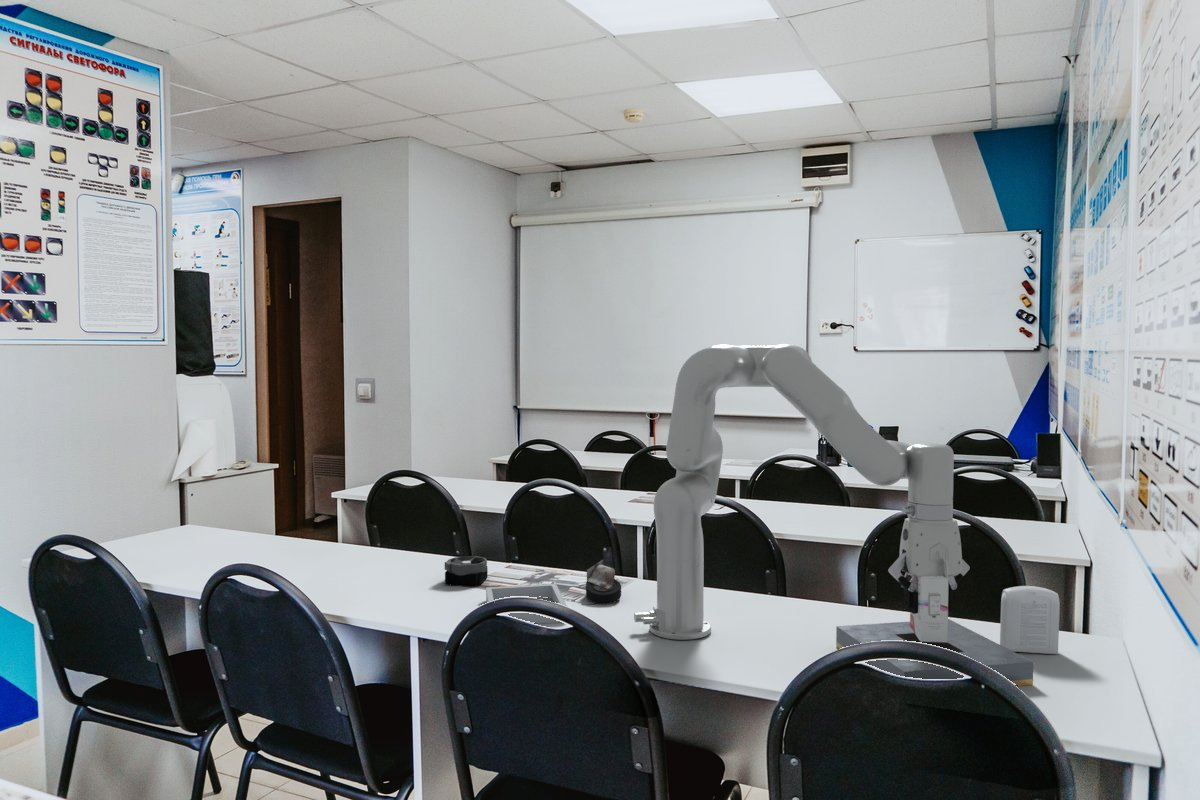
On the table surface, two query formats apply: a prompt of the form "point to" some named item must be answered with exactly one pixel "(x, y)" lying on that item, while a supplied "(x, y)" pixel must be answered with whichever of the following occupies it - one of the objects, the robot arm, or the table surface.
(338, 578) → the table surface
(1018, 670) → the dock
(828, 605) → the table surface
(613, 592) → the caster wheel
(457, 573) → the cpu cooler
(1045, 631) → the photo printer
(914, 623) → the ink cartridge box
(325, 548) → the table surface
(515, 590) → the charger corral
